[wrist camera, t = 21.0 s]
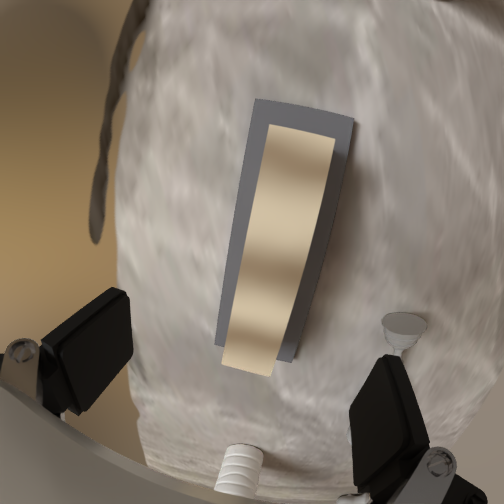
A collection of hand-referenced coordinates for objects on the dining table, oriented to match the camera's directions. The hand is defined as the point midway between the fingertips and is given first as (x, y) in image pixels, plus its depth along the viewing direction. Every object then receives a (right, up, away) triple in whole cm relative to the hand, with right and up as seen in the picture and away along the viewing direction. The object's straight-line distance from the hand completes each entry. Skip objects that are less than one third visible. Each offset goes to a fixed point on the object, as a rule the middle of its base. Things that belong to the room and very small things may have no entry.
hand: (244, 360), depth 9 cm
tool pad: (+3, +5, +17) cm, 18 cm away
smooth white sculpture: (+24, -53, +31) cm, 66 cm away
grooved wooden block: (+3, +4, +16) cm, 17 cm away
